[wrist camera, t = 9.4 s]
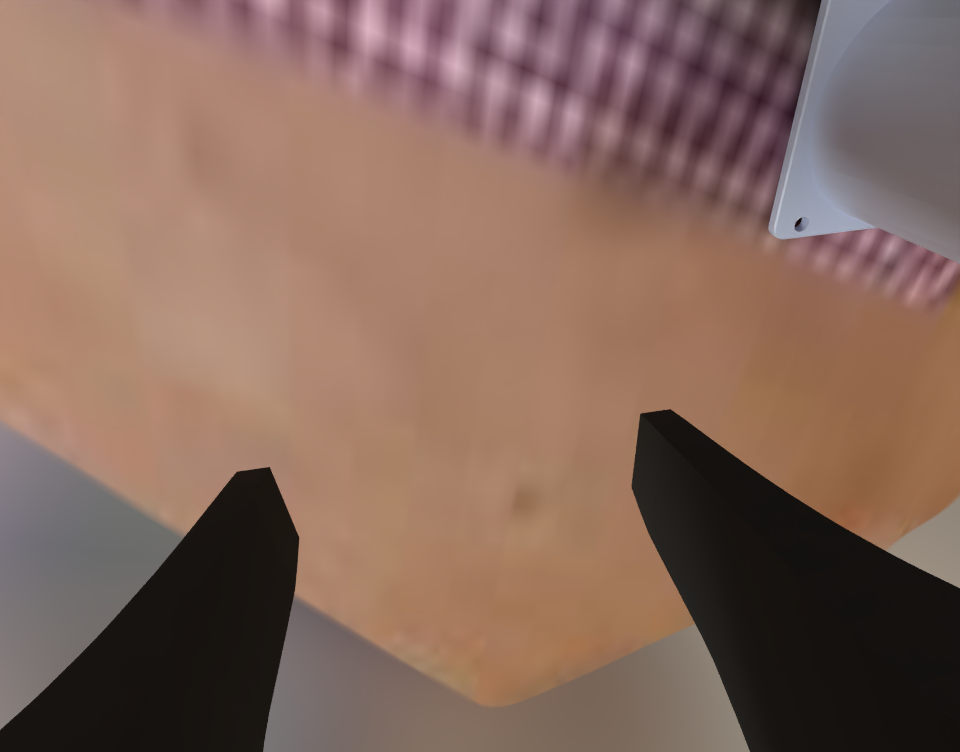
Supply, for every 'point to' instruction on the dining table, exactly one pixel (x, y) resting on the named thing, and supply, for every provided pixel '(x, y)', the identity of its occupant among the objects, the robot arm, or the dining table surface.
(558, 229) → the dining table surface
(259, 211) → the dining table surface
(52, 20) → the dining table surface
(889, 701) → the robot arm
